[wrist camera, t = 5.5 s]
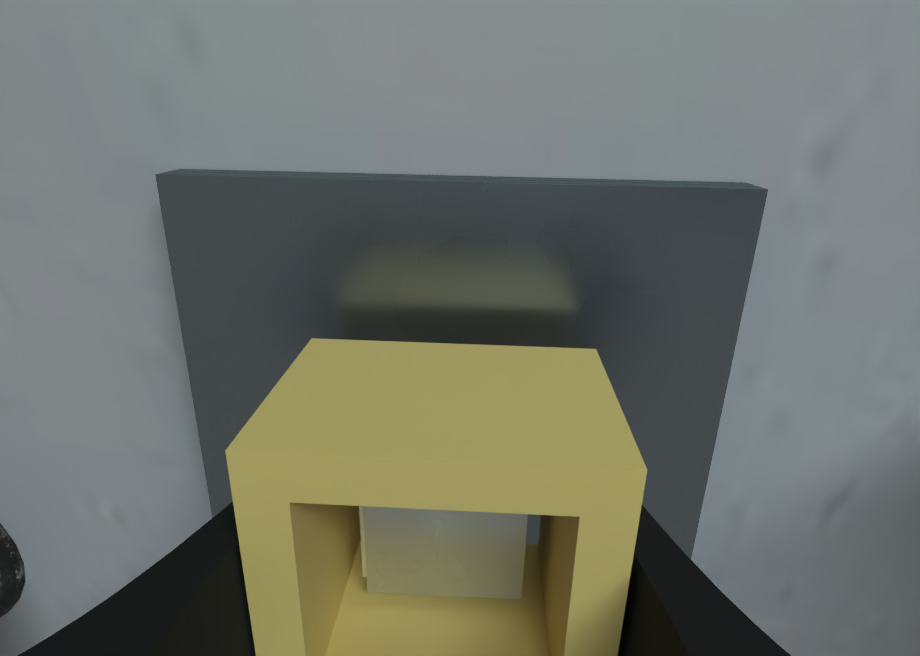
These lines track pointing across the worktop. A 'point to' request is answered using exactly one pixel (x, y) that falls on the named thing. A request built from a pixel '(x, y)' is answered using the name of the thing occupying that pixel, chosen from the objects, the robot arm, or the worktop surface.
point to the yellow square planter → (436, 496)
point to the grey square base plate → (466, 317)
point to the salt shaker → (9, 572)
